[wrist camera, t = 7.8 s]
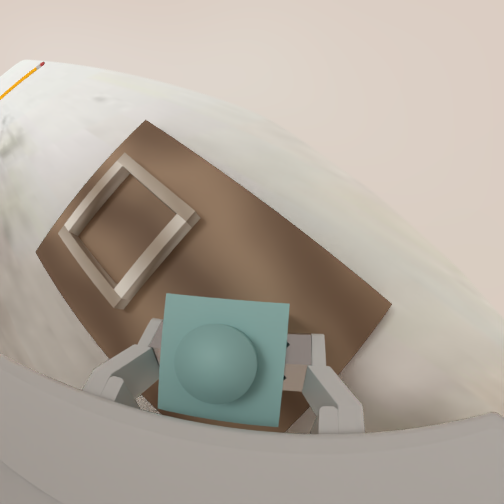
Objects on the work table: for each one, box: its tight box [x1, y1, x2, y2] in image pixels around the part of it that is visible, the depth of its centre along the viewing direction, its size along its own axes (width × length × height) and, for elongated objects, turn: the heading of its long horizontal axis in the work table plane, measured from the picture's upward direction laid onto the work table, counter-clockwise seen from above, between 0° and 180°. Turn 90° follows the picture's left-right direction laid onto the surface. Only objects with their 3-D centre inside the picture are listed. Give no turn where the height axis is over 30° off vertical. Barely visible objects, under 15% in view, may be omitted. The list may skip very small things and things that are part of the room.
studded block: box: [158, 293, 290, 427], centre depth 12 cm, size 4×4×8 cm
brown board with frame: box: [36, 120, 392, 433], centre depth 18 cm, size 14×22×3 cm, turn 49°
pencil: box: [0, 62, 45, 100], centre depth 30 cm, size 1×19×1 cm, turn 109°
